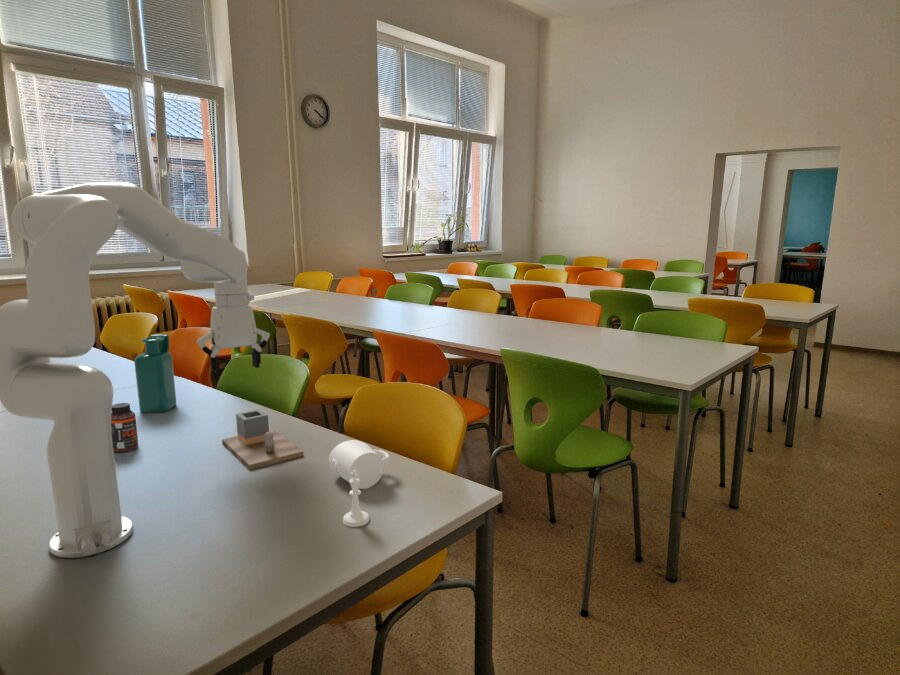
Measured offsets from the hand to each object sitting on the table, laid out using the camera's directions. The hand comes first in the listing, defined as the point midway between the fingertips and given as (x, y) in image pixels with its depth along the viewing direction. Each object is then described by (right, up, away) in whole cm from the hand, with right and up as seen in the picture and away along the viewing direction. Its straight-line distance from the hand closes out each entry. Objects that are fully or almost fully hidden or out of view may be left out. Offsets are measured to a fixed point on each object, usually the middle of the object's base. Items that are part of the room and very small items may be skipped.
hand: (236, 369), depth 142 cm
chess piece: (+35, -27, -34) cm, 56 cm away
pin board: (+6, -20, 0) cm, 21 cm away
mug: (+34, -23, -16) cm, 44 cm away
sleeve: (+3, -18, +4) cm, 18 cm away
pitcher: (-35, -14, +32) cm, 50 cm away
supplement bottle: (-28, -20, +1) cm, 34 cm away
